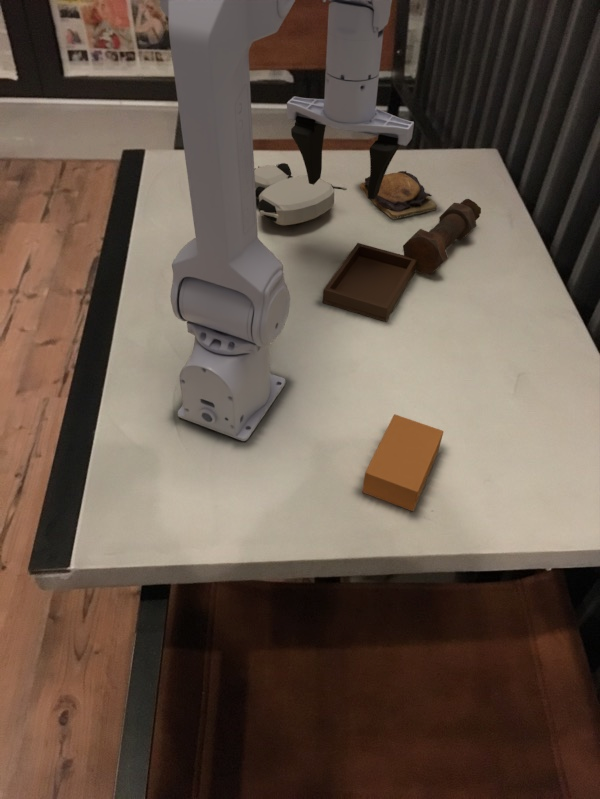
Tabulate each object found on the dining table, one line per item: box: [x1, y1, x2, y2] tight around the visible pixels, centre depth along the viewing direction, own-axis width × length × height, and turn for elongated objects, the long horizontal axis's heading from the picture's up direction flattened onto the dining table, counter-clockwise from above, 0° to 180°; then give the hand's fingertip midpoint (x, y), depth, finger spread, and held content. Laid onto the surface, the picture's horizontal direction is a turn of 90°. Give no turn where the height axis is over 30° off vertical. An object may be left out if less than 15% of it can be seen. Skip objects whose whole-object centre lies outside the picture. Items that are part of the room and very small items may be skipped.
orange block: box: [362, 414, 444, 512], centre depth 64 cm, size 8×5×3 cm, turn 155°
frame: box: [322, 242, 417, 323], centre depth 85 cm, size 11×8×2 cm
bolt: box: [402, 198, 482, 276], centre depth 90 cm, size 6×5×15 cm
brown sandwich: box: [359, 170, 438, 221], centre depth 100 cm, size 11×8×4 cm
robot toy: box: [254, 162, 348, 226], centre depth 97 cm, size 12×4×15 cm
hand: (343, 187), depth 83 cm, fingers open, 7 cm apart
